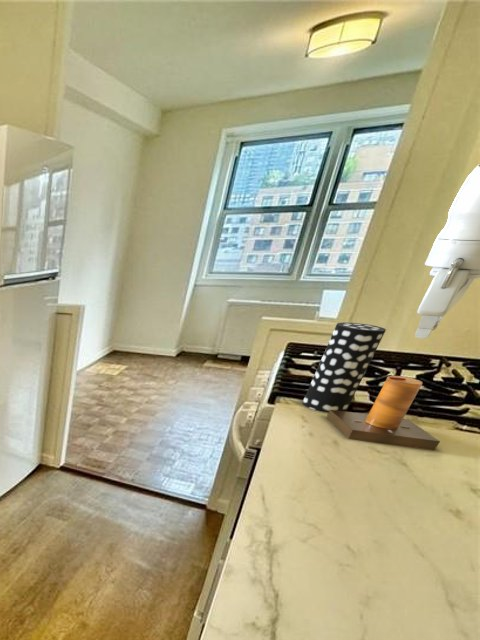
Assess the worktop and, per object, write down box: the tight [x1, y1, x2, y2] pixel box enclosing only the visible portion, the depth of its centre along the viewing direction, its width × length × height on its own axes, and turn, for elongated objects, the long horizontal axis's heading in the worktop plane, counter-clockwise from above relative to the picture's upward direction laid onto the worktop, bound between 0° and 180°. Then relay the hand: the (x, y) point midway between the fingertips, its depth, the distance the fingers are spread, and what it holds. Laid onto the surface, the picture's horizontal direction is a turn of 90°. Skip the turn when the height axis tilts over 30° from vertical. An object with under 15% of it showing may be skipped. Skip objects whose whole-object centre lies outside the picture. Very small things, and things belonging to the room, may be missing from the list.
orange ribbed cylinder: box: [365, 375, 423, 429], centre depth 101 cm, size 5×5×10 cm
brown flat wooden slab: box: [326, 410, 441, 451], centre depth 104 cm, size 14×12×3 cm
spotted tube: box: [302, 322, 387, 414], centre depth 113 cm, size 8×8×20 cm
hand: (424, 333), depth 93 cm, fingers open, 8 cm apart
